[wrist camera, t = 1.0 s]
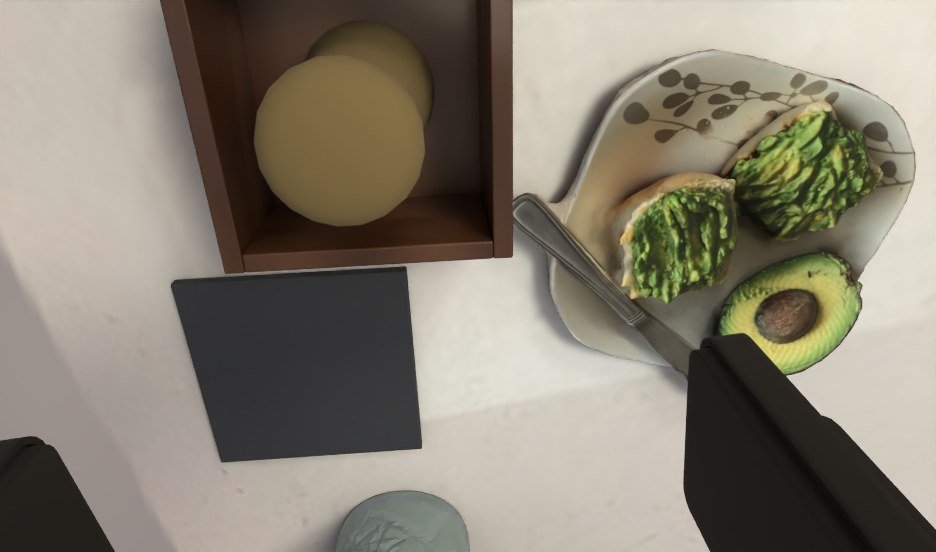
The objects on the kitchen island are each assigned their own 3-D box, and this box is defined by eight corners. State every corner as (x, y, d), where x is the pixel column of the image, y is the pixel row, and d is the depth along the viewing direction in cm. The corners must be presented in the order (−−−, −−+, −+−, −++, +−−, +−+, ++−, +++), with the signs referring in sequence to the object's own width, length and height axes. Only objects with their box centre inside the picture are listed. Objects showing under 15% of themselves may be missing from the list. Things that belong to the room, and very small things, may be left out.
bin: (264, 215, 30) (224, 274, 24) (212, -49, 25) (145, -57, 19) (496, 203, 30) (513, 258, 25) (492, -59, 25) (513, -70, 19)
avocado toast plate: (459, 328, 34) (463, 377, 29) (576, -12, 26) (604, -10, 22) (760, 397, 37) (802, 450, 33) (936, 115, 30) (1019, 137, 26)
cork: (323, 171, 29) (270, 273, 19) (279, 38, 26) (189, 75, 16) (448, 142, 28) (459, 231, 18) (416, 5, 26) (410, 22, 16)
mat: (224, 455, 37) (220, 462, 36) (174, 279, 31) (170, 284, 31) (421, 442, 37) (421, 449, 37) (406, 266, 32) (406, 271, 31)
